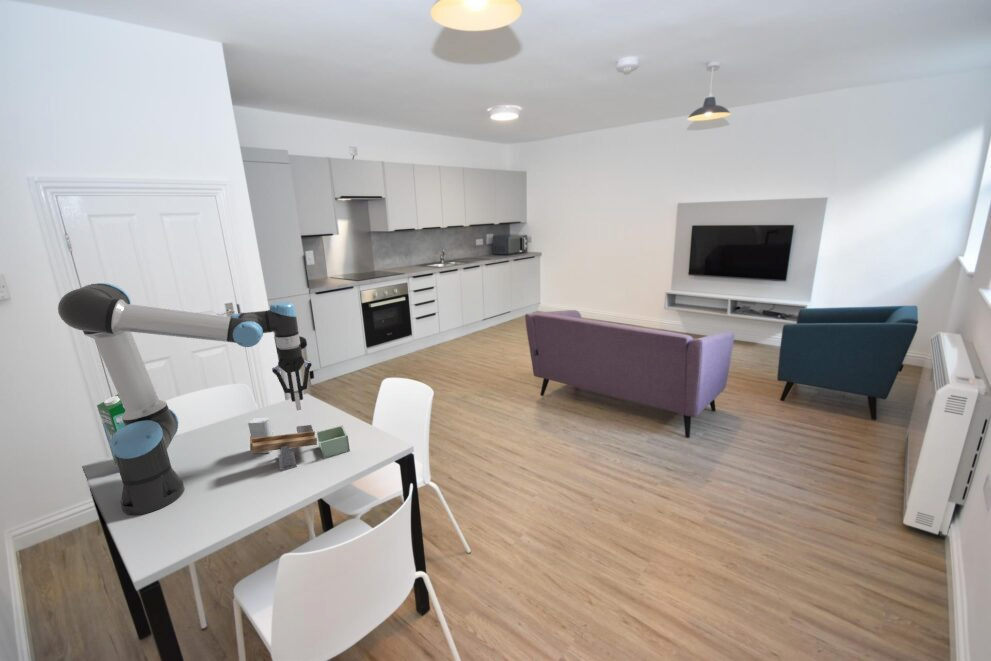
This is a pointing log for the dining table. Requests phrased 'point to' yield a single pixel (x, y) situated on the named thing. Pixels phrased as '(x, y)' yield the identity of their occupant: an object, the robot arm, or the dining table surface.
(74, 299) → the robot arm
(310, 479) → the dining table surface
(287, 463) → the fulcrum
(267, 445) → the lever
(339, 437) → the bin
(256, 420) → the skincare box
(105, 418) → the milk carton
